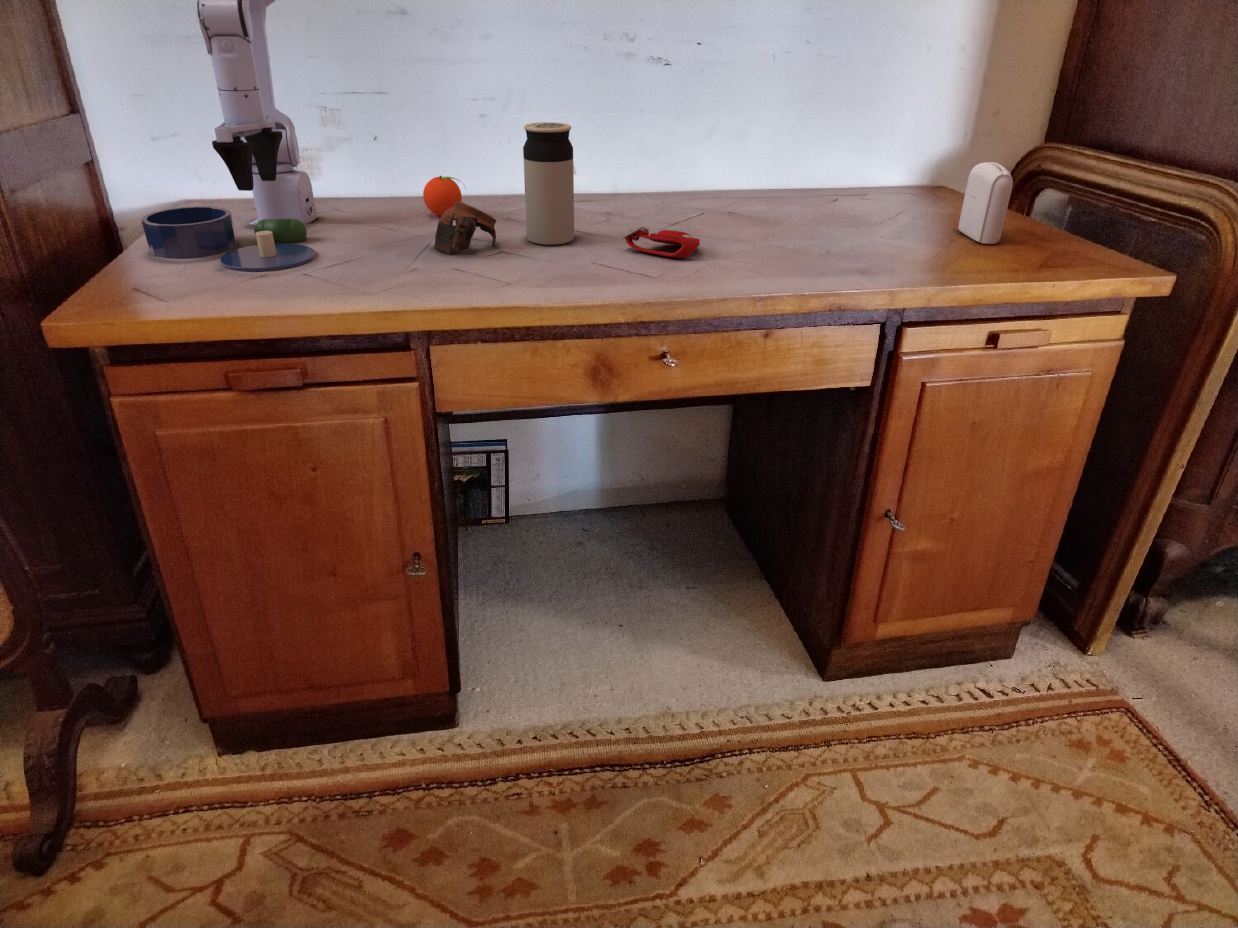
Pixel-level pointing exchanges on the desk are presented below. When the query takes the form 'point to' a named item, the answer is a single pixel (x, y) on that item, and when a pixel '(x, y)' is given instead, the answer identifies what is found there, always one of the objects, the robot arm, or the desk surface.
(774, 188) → the desk surface
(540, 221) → the travel mug
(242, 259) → the crock lid
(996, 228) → the photo printer
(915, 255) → the desk surface
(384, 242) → the desk surface
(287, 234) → the cucumber
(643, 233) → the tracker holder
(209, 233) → the crock
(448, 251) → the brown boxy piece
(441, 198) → the clementine
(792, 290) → the desk surface
